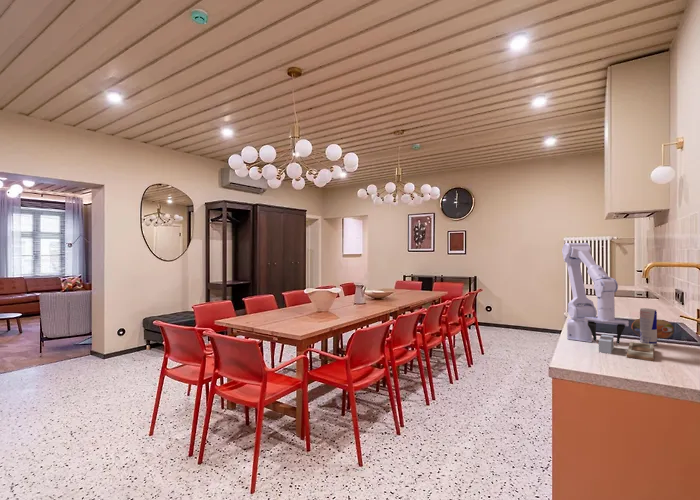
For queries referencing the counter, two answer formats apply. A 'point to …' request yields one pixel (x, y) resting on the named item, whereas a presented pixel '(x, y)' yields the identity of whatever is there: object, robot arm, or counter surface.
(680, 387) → the counter surface
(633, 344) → the framed wooden panel
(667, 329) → the tin
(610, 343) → the grey box
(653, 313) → the beverage can
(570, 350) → the counter surface
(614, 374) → the counter surface
